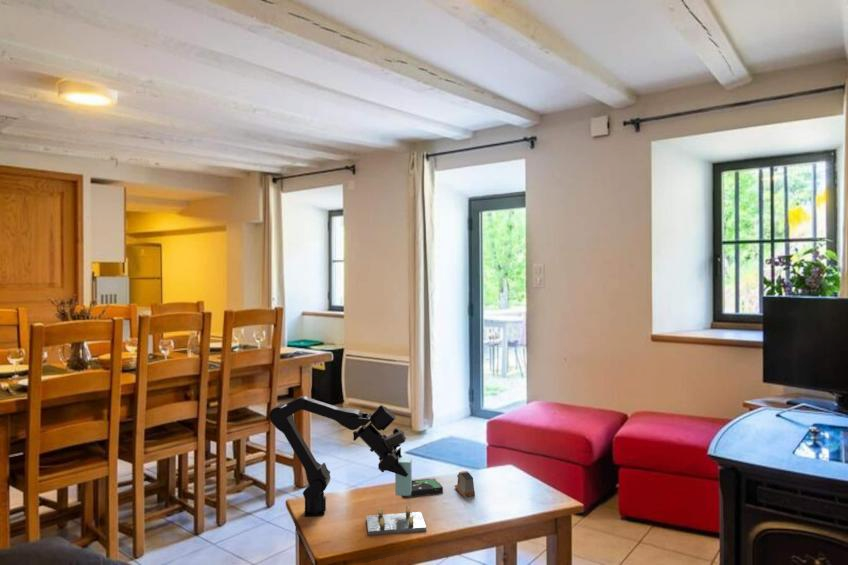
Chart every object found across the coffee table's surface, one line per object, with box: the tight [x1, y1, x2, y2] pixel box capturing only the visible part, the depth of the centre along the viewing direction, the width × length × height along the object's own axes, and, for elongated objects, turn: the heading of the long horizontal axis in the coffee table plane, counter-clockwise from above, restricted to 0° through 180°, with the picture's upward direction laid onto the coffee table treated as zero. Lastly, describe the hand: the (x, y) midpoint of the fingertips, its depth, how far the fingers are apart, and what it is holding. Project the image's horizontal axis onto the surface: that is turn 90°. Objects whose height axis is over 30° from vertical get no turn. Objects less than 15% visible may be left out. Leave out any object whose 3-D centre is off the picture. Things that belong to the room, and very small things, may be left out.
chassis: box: [365, 505, 427, 536], centre depth 184 cm, size 18×12×4 cm, turn 98°
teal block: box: [394, 457, 413, 497], centre depth 193 cm, size 5×5×11 cm
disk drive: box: [403, 478, 444, 498], centre depth 214 cm, size 10×3×15 cm
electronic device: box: [454, 470, 476, 498], centre depth 212 cm, size 4×10×8 cm, turn 20°
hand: (407, 473), depth 193 cm, fingers closed on teal block, 5 cm apart
